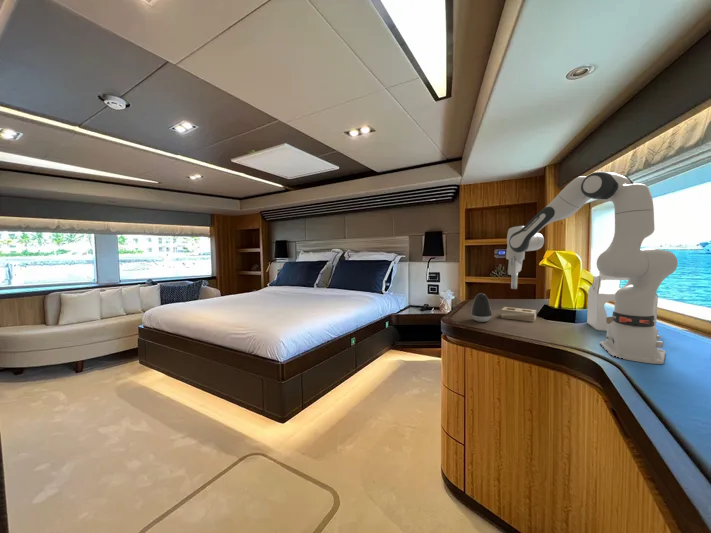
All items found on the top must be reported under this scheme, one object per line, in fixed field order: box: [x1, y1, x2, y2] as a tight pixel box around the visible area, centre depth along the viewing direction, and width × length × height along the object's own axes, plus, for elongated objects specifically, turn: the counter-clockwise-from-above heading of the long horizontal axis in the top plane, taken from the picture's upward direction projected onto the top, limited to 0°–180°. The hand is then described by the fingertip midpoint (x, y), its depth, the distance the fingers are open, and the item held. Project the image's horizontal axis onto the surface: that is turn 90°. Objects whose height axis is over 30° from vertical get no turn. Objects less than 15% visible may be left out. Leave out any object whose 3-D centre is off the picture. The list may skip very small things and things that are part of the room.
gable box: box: [586, 272, 659, 332], centre depth 144 cm, size 22×13×28 cm, turn 68°
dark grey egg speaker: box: [470, 292, 493, 323], centre depth 163 cm, size 10×10×15 cm
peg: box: [510, 272, 519, 290], centre depth 165 cm, size 3×3×10 cm
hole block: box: [500, 306, 537, 322], centre depth 167 cm, size 9×16×4 cm, turn 53°
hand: (514, 281), depth 165 cm, fingers closed on peg, 3 cm apart
